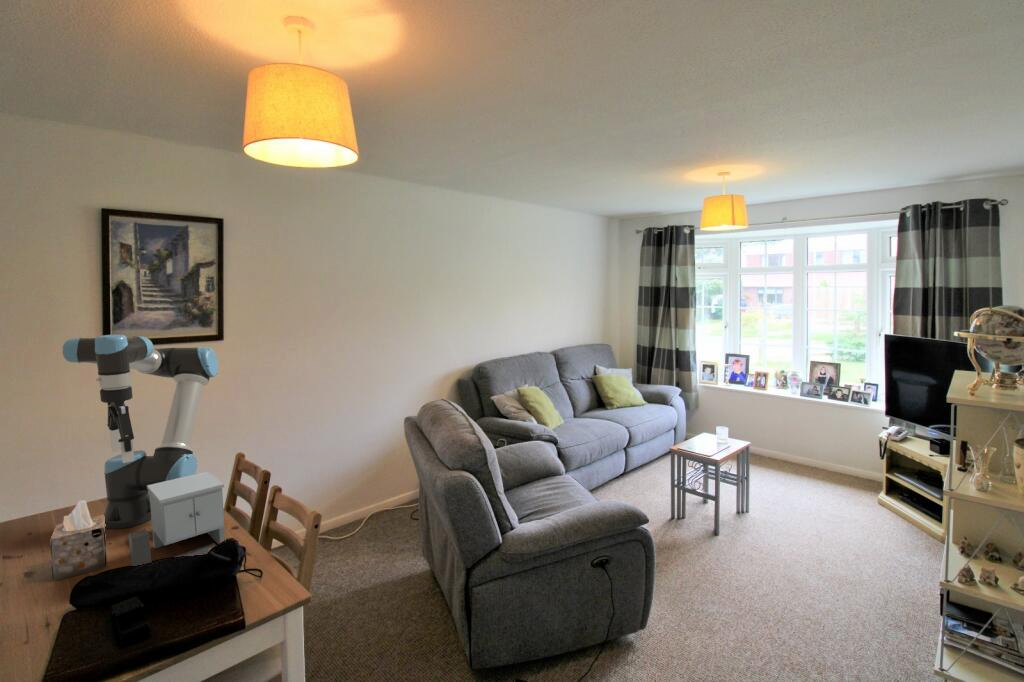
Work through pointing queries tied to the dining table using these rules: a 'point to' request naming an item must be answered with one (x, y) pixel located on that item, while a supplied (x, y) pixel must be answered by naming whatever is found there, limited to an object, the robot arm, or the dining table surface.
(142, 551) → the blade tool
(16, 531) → the dining table surface
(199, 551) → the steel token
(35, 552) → the dining table surface
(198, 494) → the sideboard cabinet
